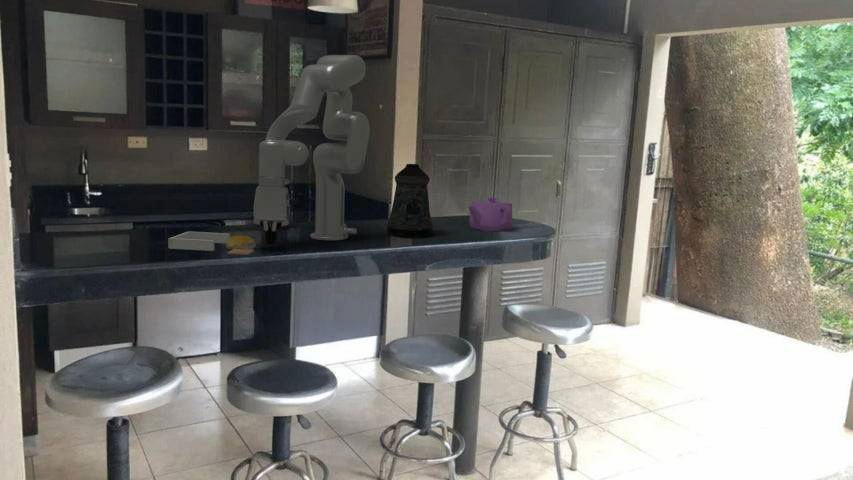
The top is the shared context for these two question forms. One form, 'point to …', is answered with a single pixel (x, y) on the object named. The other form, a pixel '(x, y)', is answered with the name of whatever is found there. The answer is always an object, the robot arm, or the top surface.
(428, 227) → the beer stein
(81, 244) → the top surface
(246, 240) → the bread roll
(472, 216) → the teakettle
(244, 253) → the tile
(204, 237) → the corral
